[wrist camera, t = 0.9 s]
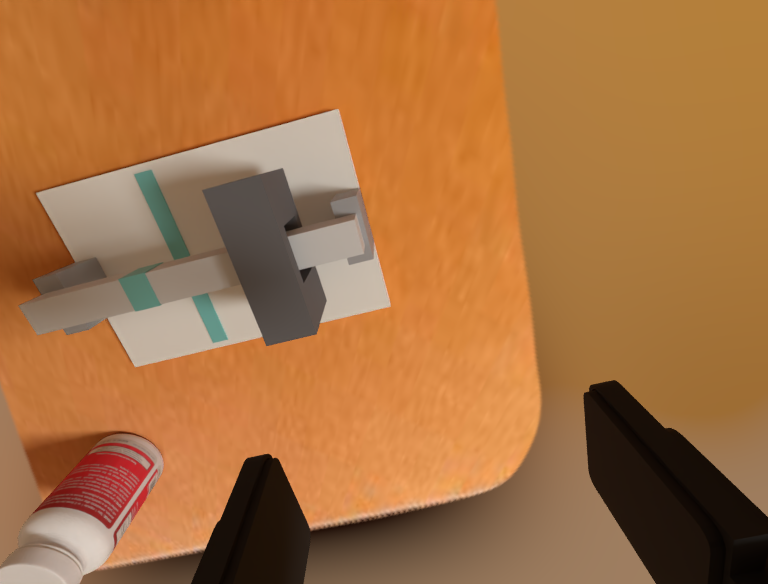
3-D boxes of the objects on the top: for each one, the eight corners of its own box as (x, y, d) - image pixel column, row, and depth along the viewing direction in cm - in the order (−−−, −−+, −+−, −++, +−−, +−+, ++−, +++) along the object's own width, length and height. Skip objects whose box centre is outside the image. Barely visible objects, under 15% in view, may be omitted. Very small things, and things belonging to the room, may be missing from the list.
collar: (236, 180, 24) (202, 190, 19) (282, 167, 23) (259, 174, 19) (285, 310, 27) (266, 346, 22) (326, 300, 27) (316, 334, 22)
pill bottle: (86, 433, 34) (-40, 559, 24) (154, 427, 34) (58, 552, 24) (109, 485, 36) (4, 621, 26) (174, 480, 36) (94, 615, 26)
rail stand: (45, 191, 26) (-55, 206, 20) (338, 109, 25) (327, 99, 19) (140, 361, 31) (84, 414, 25) (390, 302, 30) (393, 343, 24)
